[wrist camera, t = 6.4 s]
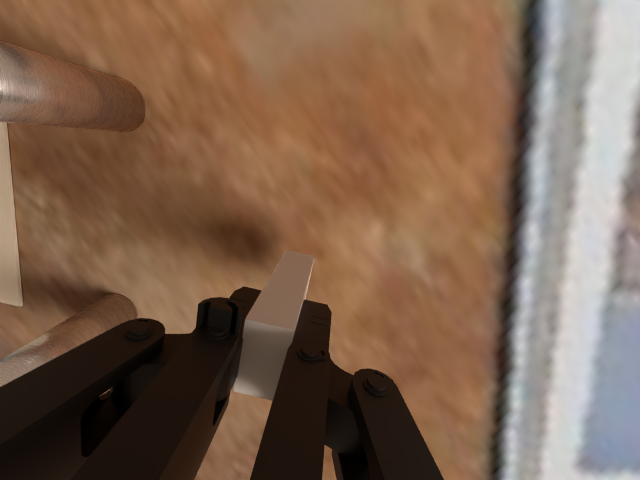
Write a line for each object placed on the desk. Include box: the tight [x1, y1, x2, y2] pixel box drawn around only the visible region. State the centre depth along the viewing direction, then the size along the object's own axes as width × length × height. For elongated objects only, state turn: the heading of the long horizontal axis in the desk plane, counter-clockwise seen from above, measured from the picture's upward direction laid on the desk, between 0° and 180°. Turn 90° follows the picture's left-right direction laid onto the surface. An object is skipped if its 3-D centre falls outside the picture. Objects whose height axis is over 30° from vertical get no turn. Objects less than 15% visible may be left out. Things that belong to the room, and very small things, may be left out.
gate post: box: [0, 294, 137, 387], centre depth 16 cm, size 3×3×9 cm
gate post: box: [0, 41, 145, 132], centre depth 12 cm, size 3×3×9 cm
